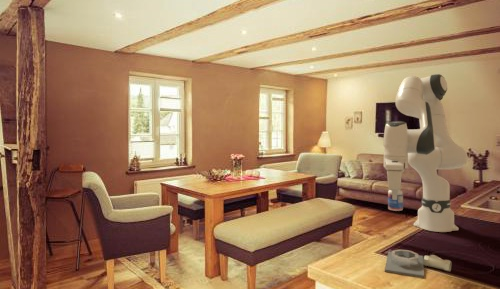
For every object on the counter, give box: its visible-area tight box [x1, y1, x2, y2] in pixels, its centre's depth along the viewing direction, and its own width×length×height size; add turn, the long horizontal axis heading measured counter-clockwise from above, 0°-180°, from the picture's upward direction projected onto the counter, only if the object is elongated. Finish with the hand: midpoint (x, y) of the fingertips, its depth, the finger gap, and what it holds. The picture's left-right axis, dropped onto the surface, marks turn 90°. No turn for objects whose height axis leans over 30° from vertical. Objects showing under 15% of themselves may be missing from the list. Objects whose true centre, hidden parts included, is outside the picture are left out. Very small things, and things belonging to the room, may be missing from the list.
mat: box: [384, 251, 425, 279], centre depth 123 cm, size 18×12×1 cm, turn 154°
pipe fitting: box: [423, 254, 452, 273], centre depth 121 cm, size 8×4×7 cm
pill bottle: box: [387, 184, 404, 212], centre depth 136 cm, size 6×5×10 cm
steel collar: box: [391, 249, 419, 268], centre depth 123 cm, size 9×9×3 cm
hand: (395, 197), depth 136 cm, fingers closed on pill bottle, 5 cm apart
